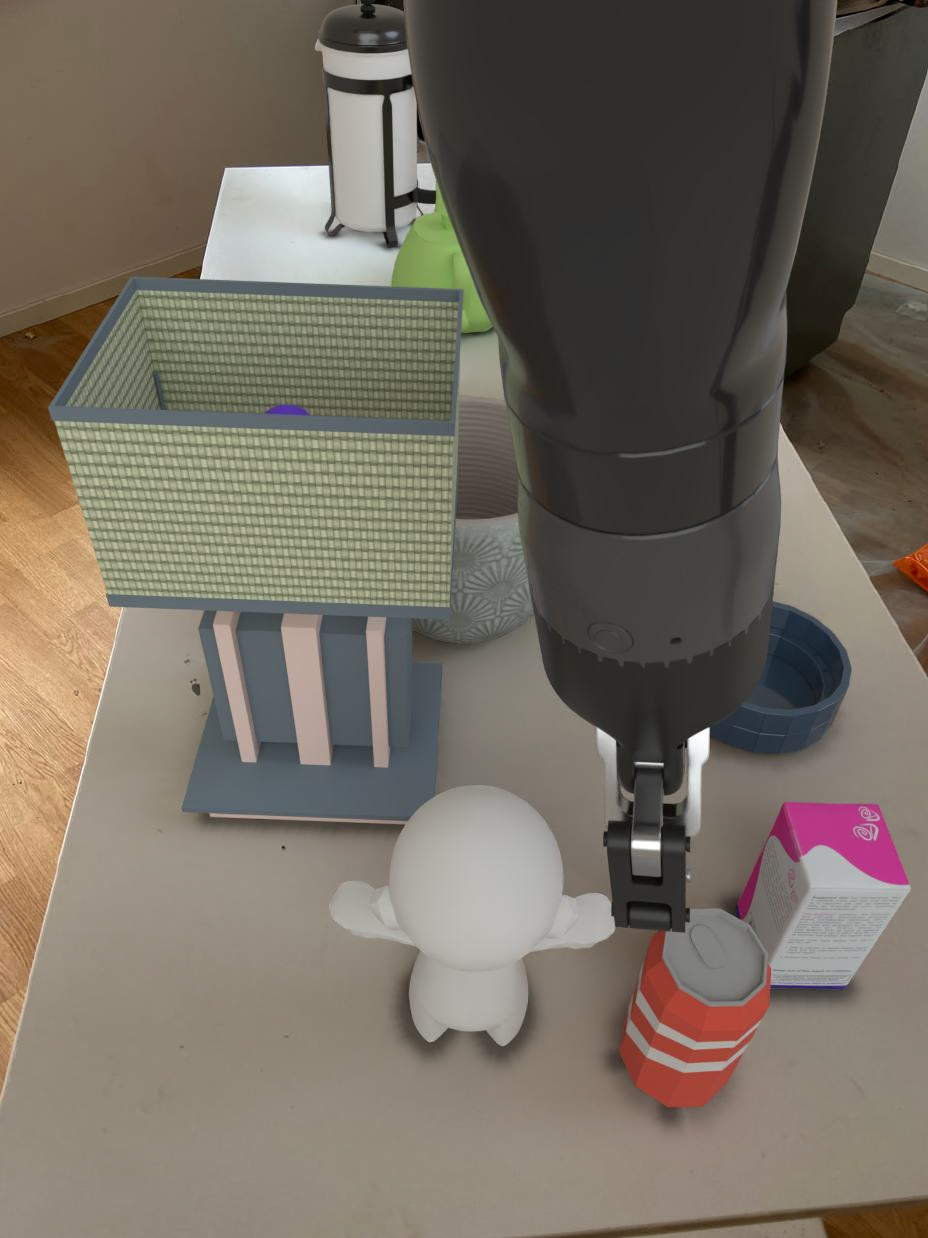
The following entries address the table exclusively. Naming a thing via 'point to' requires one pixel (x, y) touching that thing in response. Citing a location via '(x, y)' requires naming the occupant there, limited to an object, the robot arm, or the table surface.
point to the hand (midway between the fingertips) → (659, 816)
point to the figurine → (473, 908)
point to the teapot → (439, 264)
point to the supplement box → (823, 892)
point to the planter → (484, 533)
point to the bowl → (791, 688)
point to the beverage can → (695, 1008)
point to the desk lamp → (282, 522)
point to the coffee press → (370, 120)
